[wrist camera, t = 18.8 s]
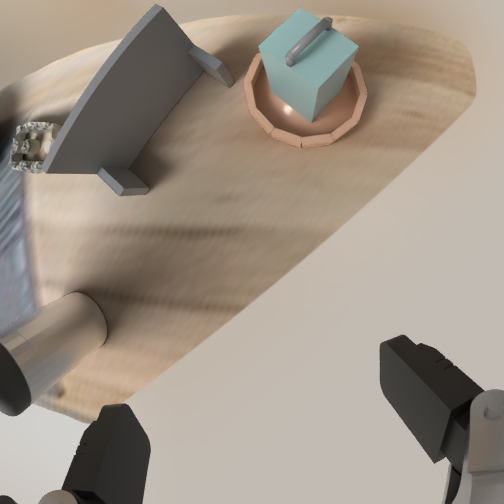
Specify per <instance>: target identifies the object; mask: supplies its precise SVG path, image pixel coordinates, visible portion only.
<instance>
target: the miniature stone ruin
mask: <svg viewBox="0 0 504 504" xmlns="http://www.w3.org/2000/svg"><path fill="white" fill-rule="evenodd" d="M61 128H62V126H61V125H59V124H56V123H49V122H29V123H26V124H24V125H21V126H18V127H16V131H17V134H16V136H15V137H13V144H12V146H11V147H12V149H11V152H10V156H11V157H10V160H9V162H8V166H7V167H8V168H11V169H15V170H20V171H24V172H31V173H42V172H44V170H43V169H42V168H41V166H42V164H43V162H44V161H36V162H35V161H25V160H22V159H23V154H37V153H38V151H39V150H40V142H39V140H34V139H26V140H25V138H26V134H28V133H29V132H31V133H40V132H41V131H43V132H51V137H52V138H53V140H48V141H47V142H46V143H45V146H44V151H45V153H46V154H48V152H49V150H50V148H51V146H52V144H53V143H54V141H55V139H56V137H57V135H58V133H59V132H60V130H61Z"/></svg>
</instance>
